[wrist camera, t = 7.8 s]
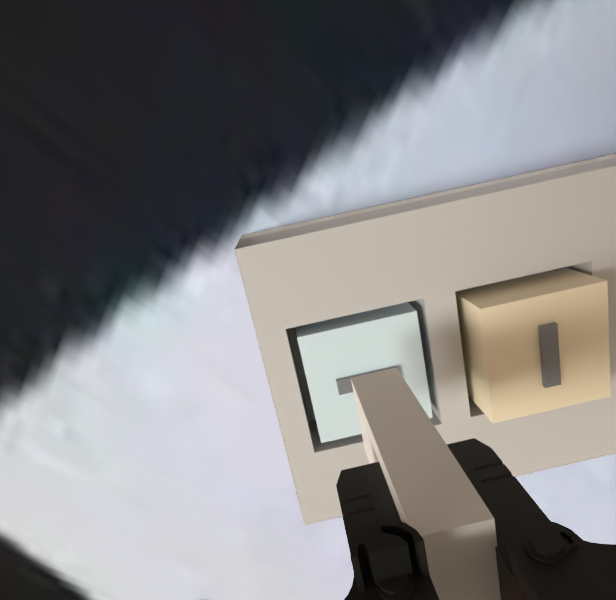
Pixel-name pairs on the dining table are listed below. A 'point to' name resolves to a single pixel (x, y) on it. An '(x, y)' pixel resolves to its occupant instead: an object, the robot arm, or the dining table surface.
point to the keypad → (432, 307)
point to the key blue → (359, 362)
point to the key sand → (535, 343)
